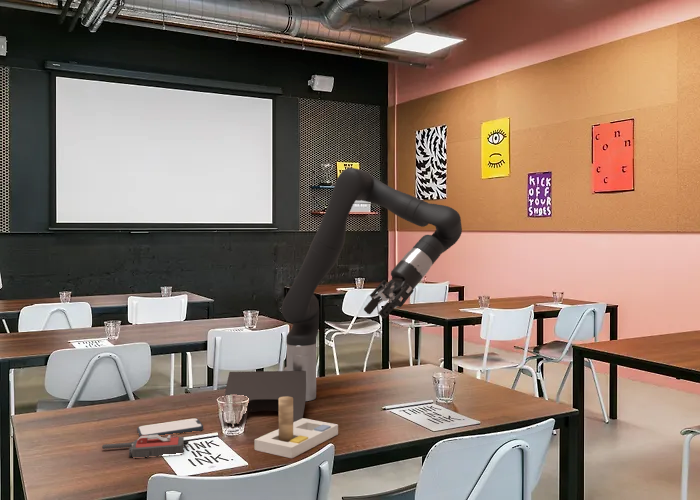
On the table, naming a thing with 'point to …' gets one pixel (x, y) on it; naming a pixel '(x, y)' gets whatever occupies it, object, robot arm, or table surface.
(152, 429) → the phone case
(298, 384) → the portable electronic device stand
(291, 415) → the dowel
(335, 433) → the socket plate
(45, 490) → the table surface
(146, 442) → the walkie-talkie
